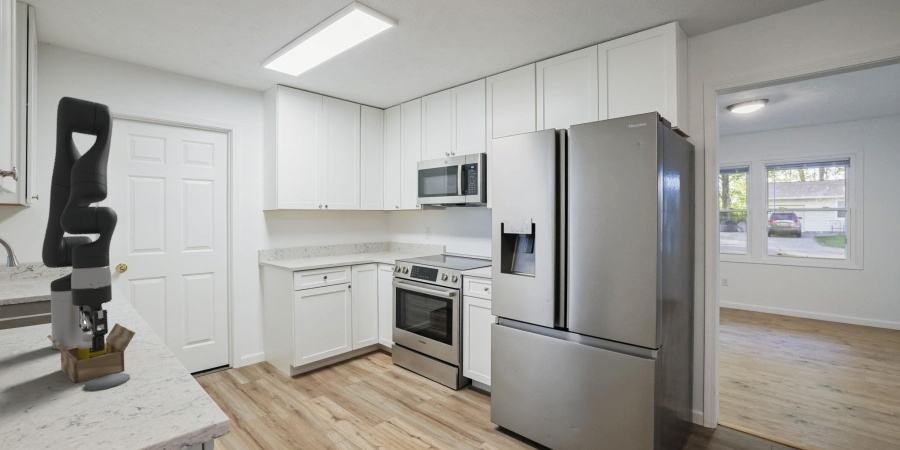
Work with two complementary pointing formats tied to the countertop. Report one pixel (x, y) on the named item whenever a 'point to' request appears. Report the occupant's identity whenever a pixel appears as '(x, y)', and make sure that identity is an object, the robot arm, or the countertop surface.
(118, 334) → the carton
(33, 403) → the countertop surface
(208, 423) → the countertop surface
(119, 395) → the countertop surface
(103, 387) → the coaster
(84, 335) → the supplement bottle
